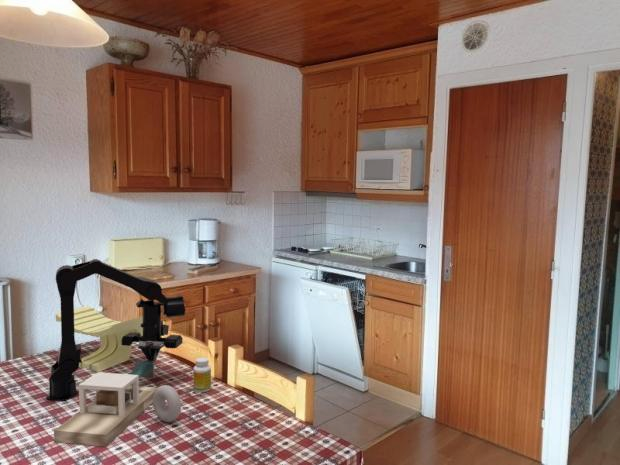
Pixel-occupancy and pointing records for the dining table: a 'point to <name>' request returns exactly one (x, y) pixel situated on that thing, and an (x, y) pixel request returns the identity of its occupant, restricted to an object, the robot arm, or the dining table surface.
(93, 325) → the slatted curved stool
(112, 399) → the block
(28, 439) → the dining table surface
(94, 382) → the tunnel
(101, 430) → the deck
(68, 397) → the robot arm
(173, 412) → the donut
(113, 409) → the carriage
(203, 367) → the supplement bottle
